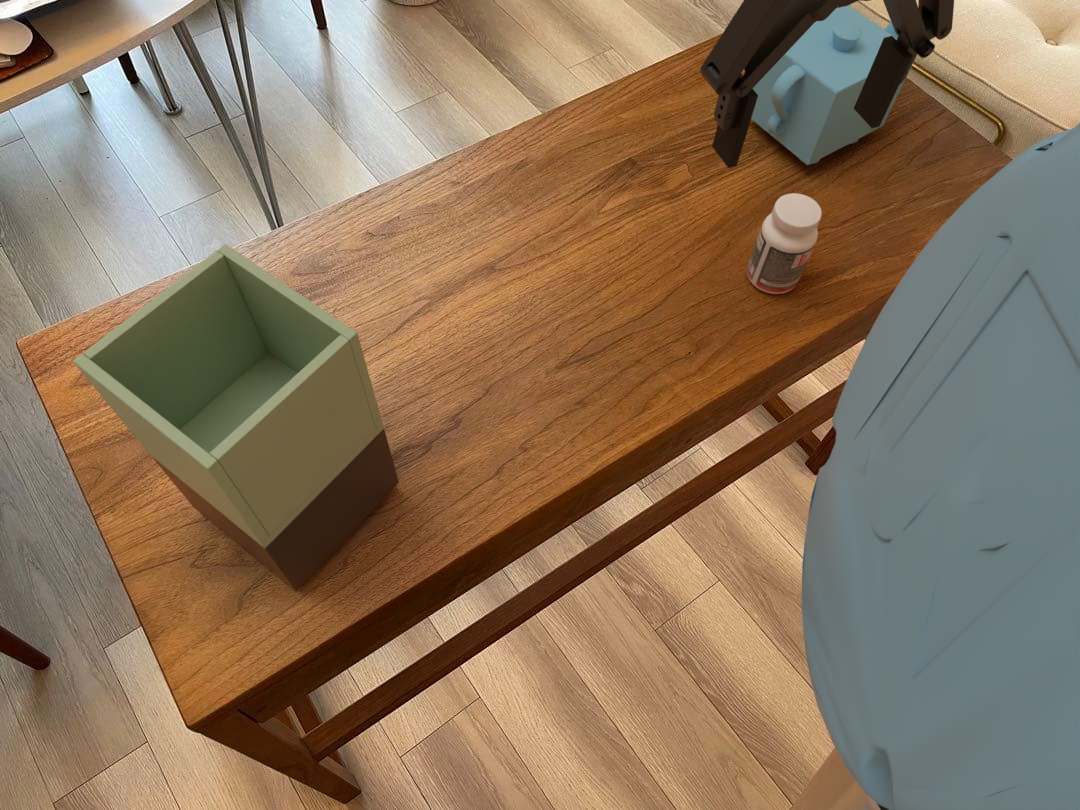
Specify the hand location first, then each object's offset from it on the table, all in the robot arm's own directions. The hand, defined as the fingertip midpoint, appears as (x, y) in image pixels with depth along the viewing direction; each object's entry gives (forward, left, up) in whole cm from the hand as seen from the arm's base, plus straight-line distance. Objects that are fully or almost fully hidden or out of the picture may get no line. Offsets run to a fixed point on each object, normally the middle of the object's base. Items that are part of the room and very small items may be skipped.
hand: (796, 136), depth 65 cm
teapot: (+33, +6, -23) cm, 41 cm away
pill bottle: (+7, -1, -23) cm, 24 cm away
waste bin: (-43, +21, -23) cm, 53 cm away
